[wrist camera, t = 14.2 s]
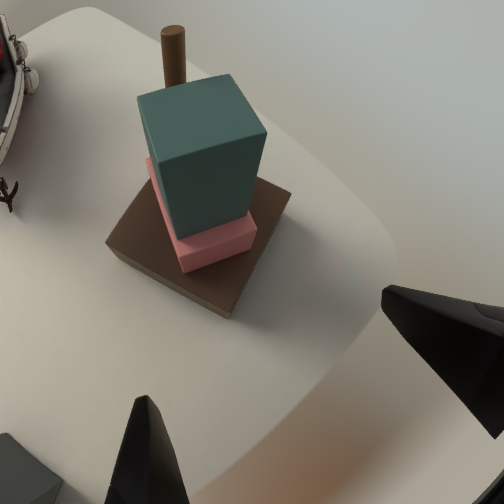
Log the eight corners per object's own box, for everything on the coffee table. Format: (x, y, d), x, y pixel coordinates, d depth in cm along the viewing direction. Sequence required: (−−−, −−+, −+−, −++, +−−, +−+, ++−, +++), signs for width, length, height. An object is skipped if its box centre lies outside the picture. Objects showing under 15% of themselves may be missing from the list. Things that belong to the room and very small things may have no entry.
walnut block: (282, 212, 19) (292, 192, 17) (227, 319, 17) (230, 313, 14) (181, 164, 20) (178, 140, 17) (117, 257, 17) (104, 242, 15)
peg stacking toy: (251, 249, 16) (299, 113, 7) (184, 274, 15) (147, 152, 6) (212, 164, 17) (220, 16, 8) (152, 184, 16) (116, 37, 7)
